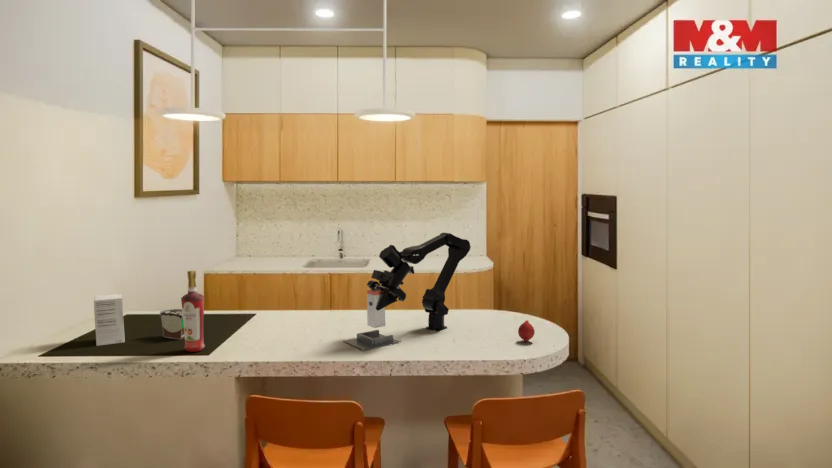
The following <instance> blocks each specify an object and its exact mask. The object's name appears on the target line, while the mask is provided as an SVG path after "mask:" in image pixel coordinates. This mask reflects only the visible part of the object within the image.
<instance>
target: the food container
mask: <svg viewBox="0 0 832 468" xmlns="http://www.w3.org/2000/svg"><path fill="white" fill-rule="evenodd" d="M159 317H160V318H161V319H160V320H161V329H162V337H163V338H168V339H174V340H181V341H182V340H185V334H184V322H183V314H182V308H181V309H180V308H173V309H172V308H171V309H164V310H163V309H162V310H160V312H159Z"/></svg>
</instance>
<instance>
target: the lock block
mask: <svg viewBox="0 0 832 468" xmlns="http://www.w3.org/2000/svg"><path fill="white" fill-rule="evenodd" d="M383 296H384V291H382V290H379V289H375V290H371V289H369V290H366V313H367V314H366V315H367V316H366V319H367V326H368V327H371V328H373V329H378V328H382V327H386V307H384V308H382V309H381V310H379V311H377V310H376V308H377V306H378V304H379V303H380V301H381V299H382V298H383Z"/></svg>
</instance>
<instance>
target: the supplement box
mask: <svg viewBox="0 0 832 468" xmlns="http://www.w3.org/2000/svg"><path fill="white" fill-rule="evenodd" d="M93 313H94V314H93V315H94V328H95V329H94V330H95V342H96V343H95V344H96V346H97V347H98V346H106V345H113V344H122V343H125V342H126V341H125V325H124V323H125V322H124V303H123V295H122V293H115V294H104V295H103V294H102V295H100V294H99V295H94V296H93Z"/></svg>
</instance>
